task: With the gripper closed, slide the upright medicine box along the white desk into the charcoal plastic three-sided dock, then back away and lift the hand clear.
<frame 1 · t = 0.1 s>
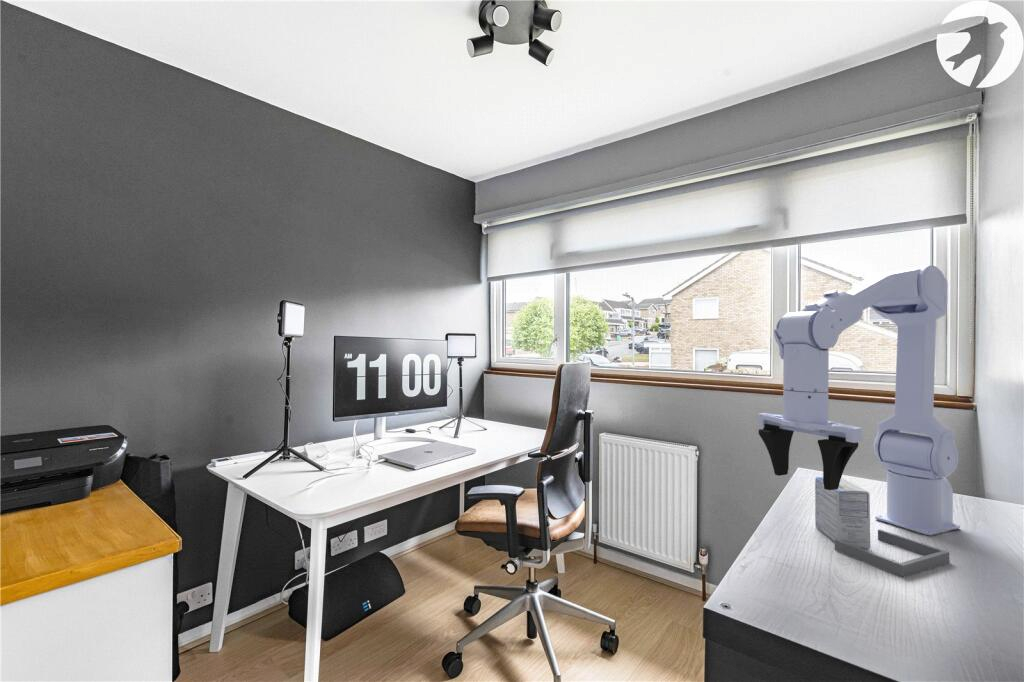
hand: (804, 481, 68), 10 cm above the table, fingers open, 7 cm apart
medicine box: (841, 539, 72), on the table
dock: (884, 553, 67), on the table
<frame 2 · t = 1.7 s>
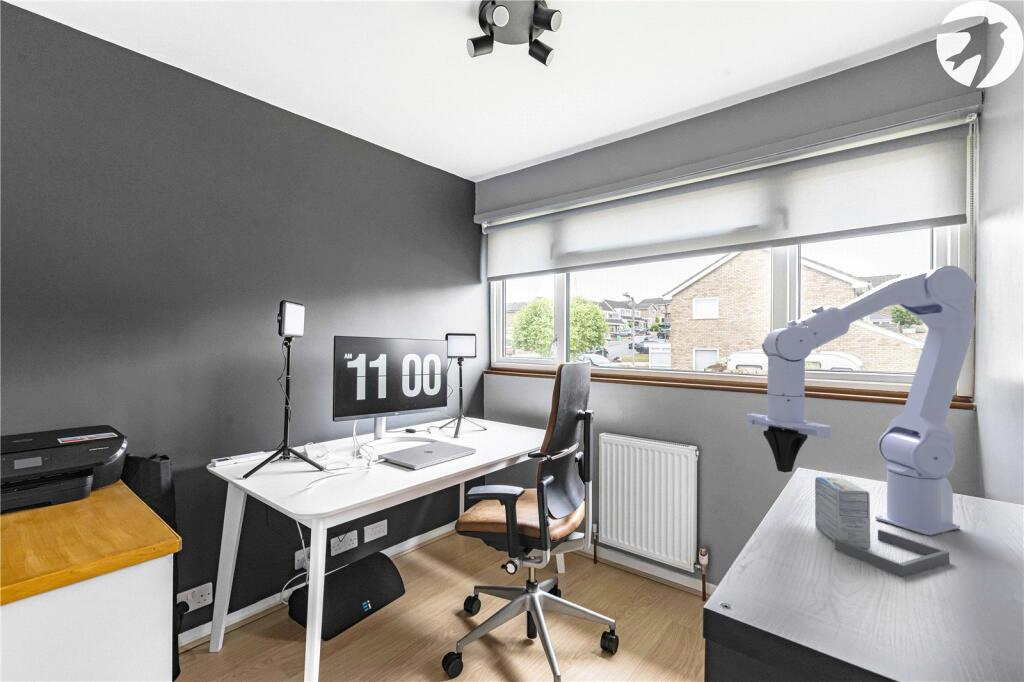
hand: (784, 471, 81), 8 cm above the table, fingers closed
nothing on the table moved.
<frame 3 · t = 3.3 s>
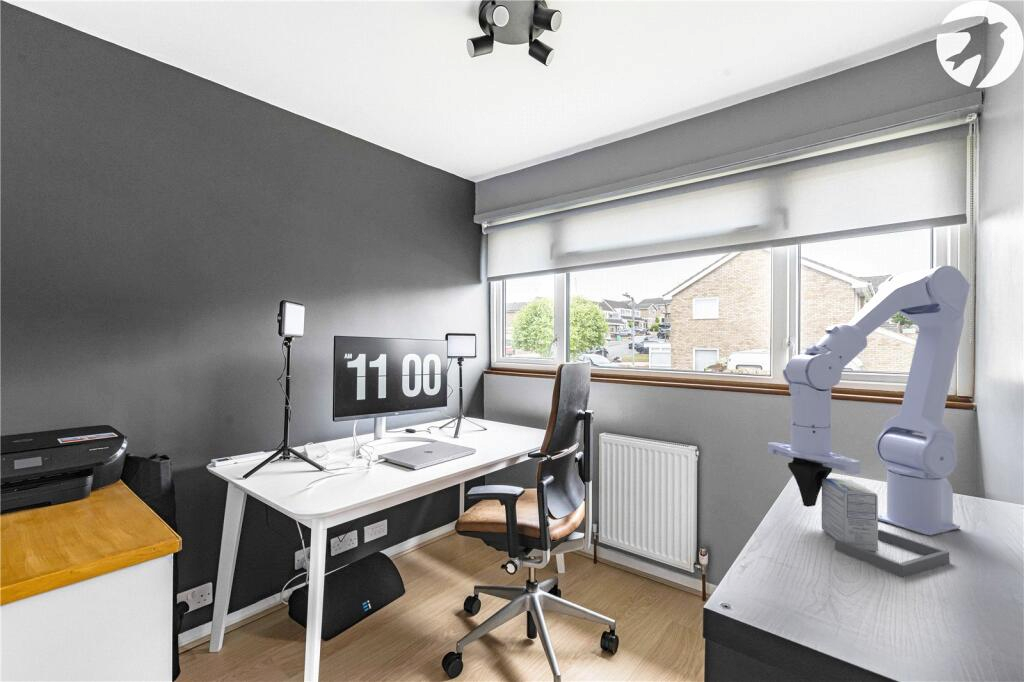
hand: (809, 505, 77), 3 cm above the table, fingers closed
medicine box: (847, 541, 71), on the table, touching gripper
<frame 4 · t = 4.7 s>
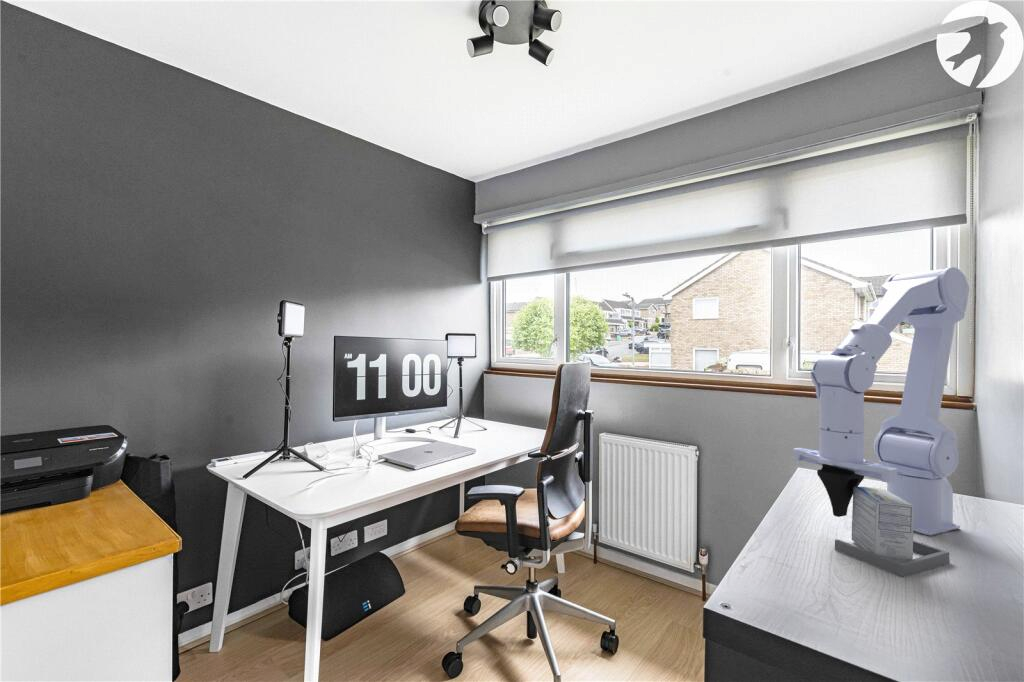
hand: (840, 515, 72), 3 cm above the table, fingers closed
medicine box: (879, 555, 66), on the table, touching gripper
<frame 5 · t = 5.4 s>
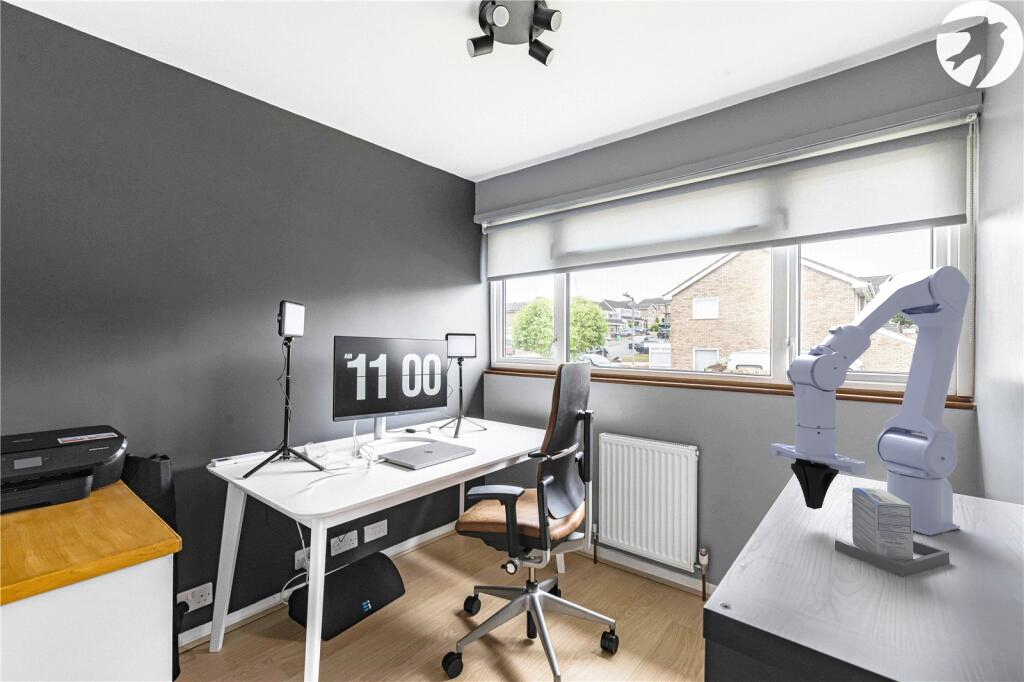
hand: (814, 507, 76), 3 cm above the table, fingers closed
medicine box: (880, 556, 66), on the table
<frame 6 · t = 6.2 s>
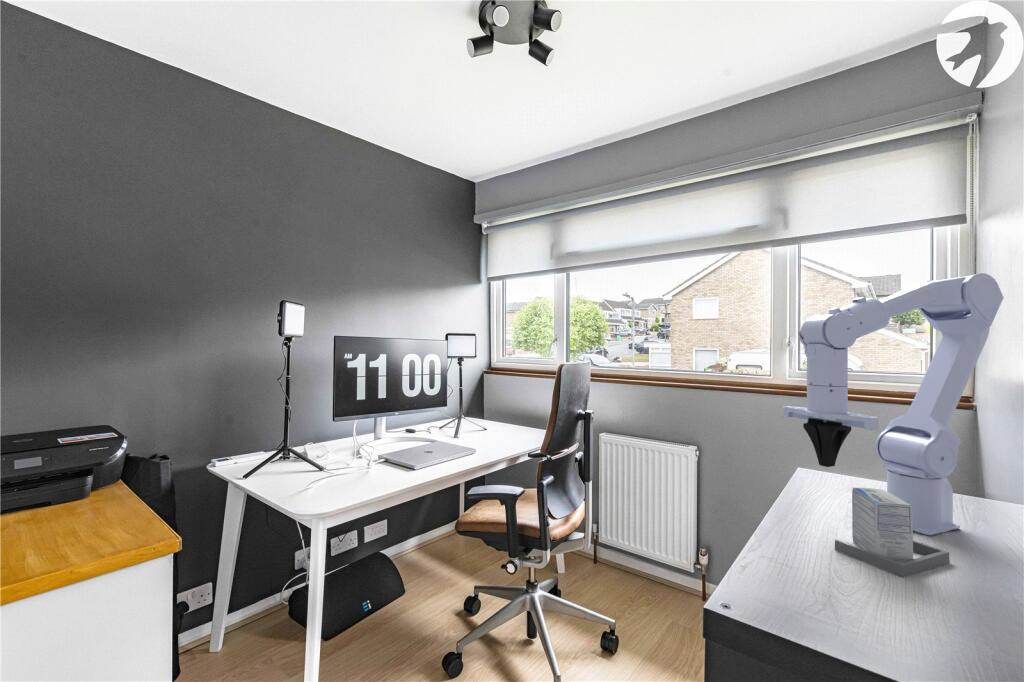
hand: (826, 465, 77), 10 cm above the table, fingers closed
nothing on the table moved.
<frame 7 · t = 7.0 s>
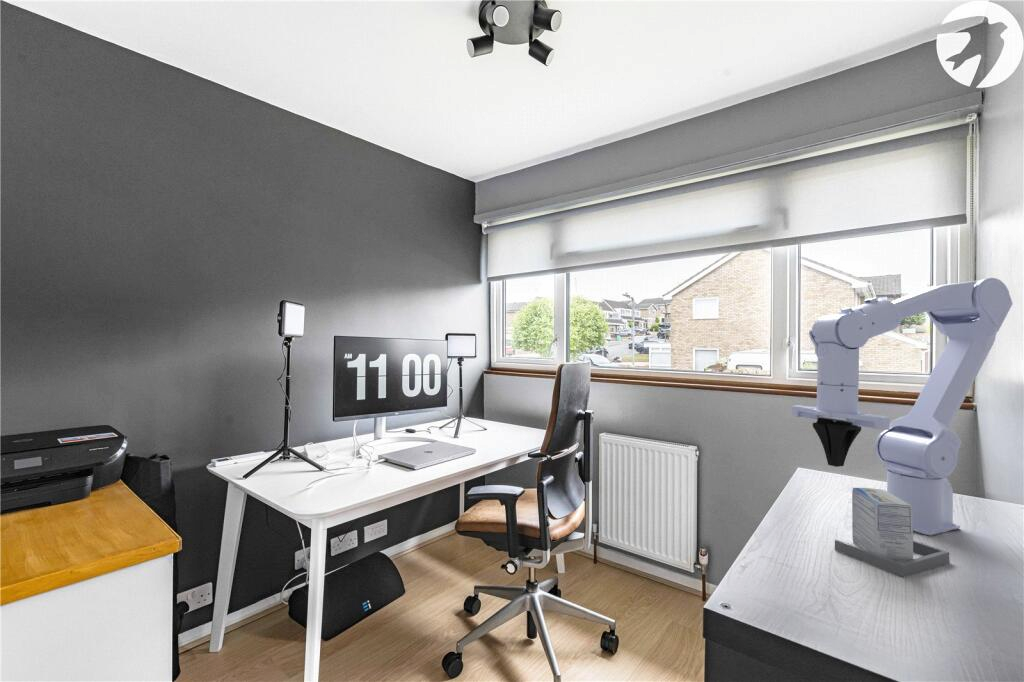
hand: (835, 465, 76), 10 cm above the table, fingers closed
nothing on the table moved.
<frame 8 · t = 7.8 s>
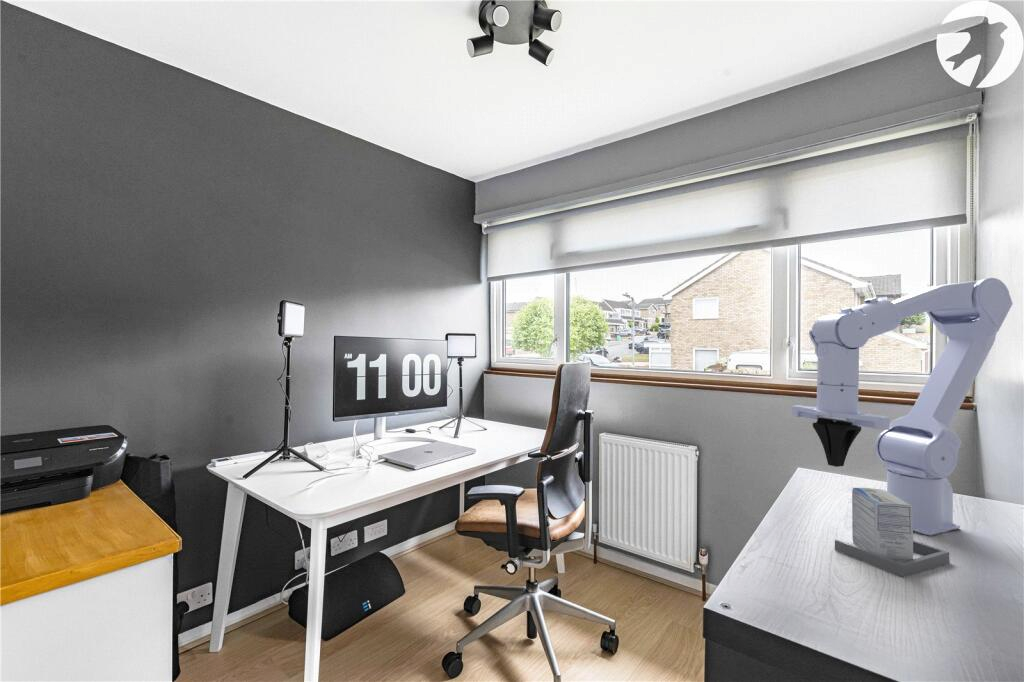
hand: (835, 465, 76), 10 cm above the table, fingers closed
nothing on the table moved.
at the end: medicine box 0.7 cm off-centre on the dock, point 0.0 cm above the dock's base; medicine box tilted 0°; medicine box moved 6.0 cm from its start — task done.
